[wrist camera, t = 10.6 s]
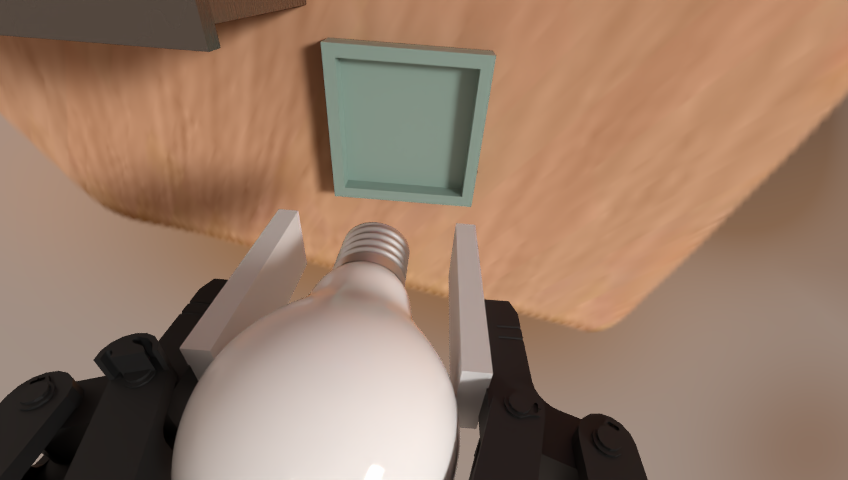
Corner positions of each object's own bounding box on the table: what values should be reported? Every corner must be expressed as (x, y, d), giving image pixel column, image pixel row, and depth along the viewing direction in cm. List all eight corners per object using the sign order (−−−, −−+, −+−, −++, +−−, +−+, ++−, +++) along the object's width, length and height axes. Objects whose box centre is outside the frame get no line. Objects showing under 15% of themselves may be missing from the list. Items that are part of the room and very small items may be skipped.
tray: (328, 37, 23) (320, 41, 22) (493, 50, 23) (495, 55, 22) (340, 184, 29) (334, 195, 28) (469, 195, 29) (471, 206, 28)
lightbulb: (336, 302, 17) (220, 637, 9) (276, 187, 14) (-27, 558, 5) (466, 285, 16) (488, 649, 8) (437, 155, 13) (413, 559, 4)
